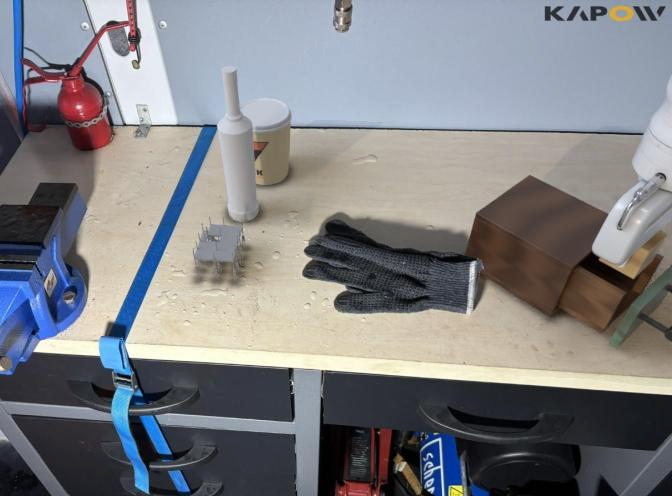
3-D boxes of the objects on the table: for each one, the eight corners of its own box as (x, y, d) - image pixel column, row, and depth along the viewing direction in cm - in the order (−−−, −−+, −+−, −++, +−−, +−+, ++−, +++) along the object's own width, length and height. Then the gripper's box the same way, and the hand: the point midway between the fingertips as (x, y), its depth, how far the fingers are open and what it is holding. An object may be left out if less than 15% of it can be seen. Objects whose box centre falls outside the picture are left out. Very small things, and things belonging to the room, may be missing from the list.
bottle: (258, 222, 98) (246, 77, 80) (227, 223, 99) (208, 79, 80) (259, 202, 102) (248, 59, 83) (229, 203, 102) (211, 60, 84)
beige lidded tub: (230, 171, 108) (223, 110, 99) (270, 150, 112) (267, 90, 103) (262, 195, 103) (257, 133, 94) (303, 173, 107) (303, 112, 98)
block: (617, 243, 78) (631, 216, 75) (652, 261, 76) (668, 234, 72) (598, 260, 76) (611, 232, 73) (633, 279, 74) (649, 252, 70)
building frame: (196, 280, 90) (190, 251, 86) (207, 244, 95) (202, 214, 91) (237, 283, 89) (233, 254, 85) (246, 246, 95) (243, 217, 90)
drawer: (697, 324, 79) (727, 283, 73) (653, 372, 74) (682, 332, 69) (570, 254, 89) (588, 212, 83) (524, 292, 84) (540, 251, 78)
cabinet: (599, 272, 87) (625, 221, 80) (549, 317, 82) (572, 267, 75) (513, 224, 95) (529, 174, 88) (462, 262, 90) (475, 212, 83)
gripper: (663, 213, 59) (610, 307, 69) (755, 132, 67) (695, 226, 77) (602, 184, 62) (561, 278, 72) (696, 110, 70) (647, 204, 81)
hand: (631, 251), depth 75 cm, fingers closed on block, 4 cm apart
